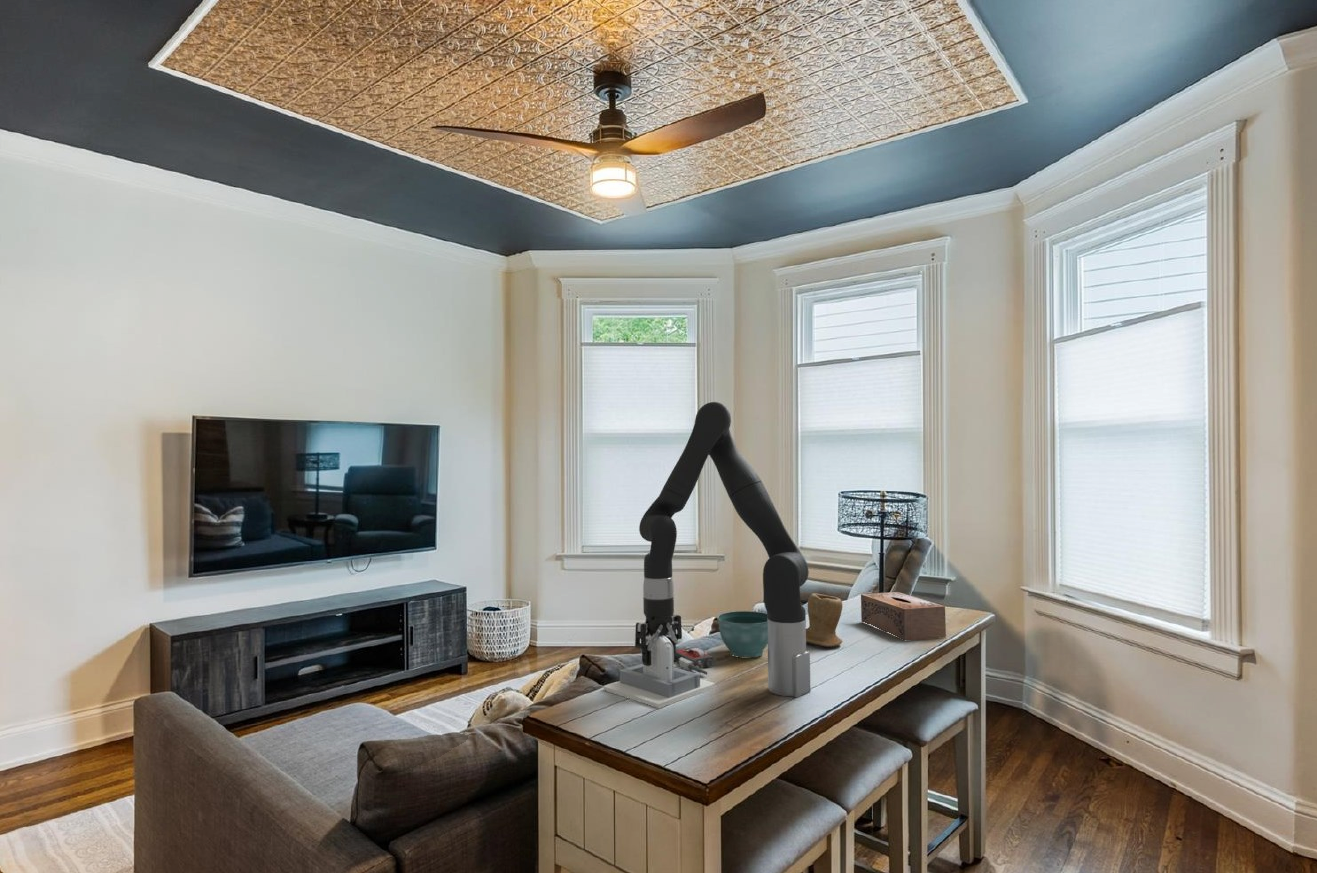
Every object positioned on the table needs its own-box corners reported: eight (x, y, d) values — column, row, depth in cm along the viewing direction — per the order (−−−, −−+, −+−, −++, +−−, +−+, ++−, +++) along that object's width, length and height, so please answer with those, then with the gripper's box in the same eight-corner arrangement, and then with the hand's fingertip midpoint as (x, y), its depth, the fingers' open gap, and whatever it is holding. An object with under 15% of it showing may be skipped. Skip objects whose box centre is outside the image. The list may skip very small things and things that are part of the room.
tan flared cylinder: (851, 644, 211) (850, 595, 212) (827, 651, 203) (826, 600, 204) (811, 635, 223) (810, 588, 223) (787, 641, 215) (786, 593, 216)
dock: (715, 687, 172) (715, 671, 172) (658, 708, 158) (658, 690, 158) (660, 672, 185) (659, 656, 185) (603, 690, 171) (603, 673, 171)
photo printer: (676, 688, 168) (675, 636, 169) (660, 691, 166) (660, 639, 167) (655, 677, 177) (655, 628, 178) (640, 680, 175) (640, 630, 176)
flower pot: (748, 666, 190) (747, 625, 191) (706, 654, 202) (705, 616, 203) (785, 654, 201) (785, 616, 201) (743, 644, 213) (743, 608, 213)
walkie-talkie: (664, 661, 197) (703, 679, 180) (663, 645, 197) (702, 662, 180) (690, 656, 201) (730, 674, 184) (690, 641, 202) (730, 657, 184)
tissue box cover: (945, 638, 218) (945, 606, 219) (905, 641, 215) (904, 609, 215) (898, 620, 243) (897, 591, 244) (861, 623, 240) (860, 594, 240)
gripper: (649, 601, 164) (650, 671, 164) (688, 593, 175) (689, 658, 174) (627, 597, 170) (627, 665, 169) (667, 589, 180) (667, 653, 179)
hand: (659, 661), depth 171 cm, fingers open, 8 cm apart
